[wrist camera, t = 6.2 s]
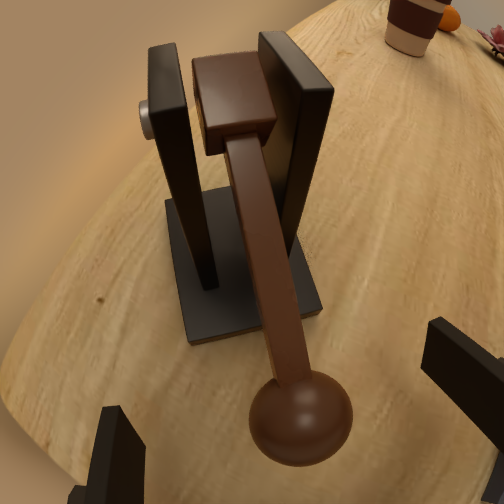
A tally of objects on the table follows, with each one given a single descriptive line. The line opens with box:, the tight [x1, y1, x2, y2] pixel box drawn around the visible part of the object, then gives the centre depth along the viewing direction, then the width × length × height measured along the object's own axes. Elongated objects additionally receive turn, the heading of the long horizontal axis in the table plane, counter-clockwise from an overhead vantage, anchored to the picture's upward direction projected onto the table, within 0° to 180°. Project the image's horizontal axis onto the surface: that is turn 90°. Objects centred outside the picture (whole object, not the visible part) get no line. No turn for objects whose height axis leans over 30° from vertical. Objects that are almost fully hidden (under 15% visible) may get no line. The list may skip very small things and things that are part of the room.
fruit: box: [438, 5, 461, 31], centre depth 47 cm, size 10×10×8 cm
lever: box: [192, 51, 353, 467], centre depth 9 cm, size 14×4×4 cm, turn 15°
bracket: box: [139, 31, 334, 345], centre depth 14 cm, size 10×8×14 cm
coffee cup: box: [385, 0, 452, 57], centre depth 32 cm, size 10×10×15 cm
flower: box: [477, 25, 504, 57], centre depth 44 cm, size 15×15×10 cm
